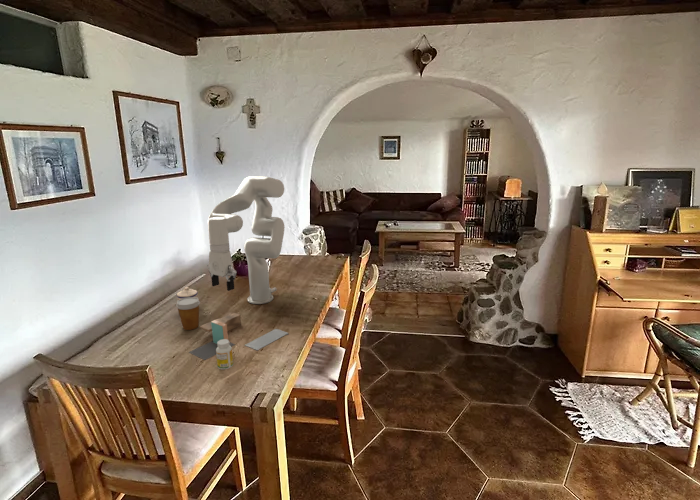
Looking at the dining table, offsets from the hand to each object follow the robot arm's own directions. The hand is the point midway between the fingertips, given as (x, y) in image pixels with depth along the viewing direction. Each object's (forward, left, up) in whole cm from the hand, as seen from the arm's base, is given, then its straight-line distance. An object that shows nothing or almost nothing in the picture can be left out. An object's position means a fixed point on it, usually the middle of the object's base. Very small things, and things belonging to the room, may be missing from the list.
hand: (223, 287), depth 171 cm
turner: (+4, +2, -18) cm, 18 cm away
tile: (+12, +11, -18) cm, 24 cm away
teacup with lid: (-2, -29, -18) cm, 34 cm away
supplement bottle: (+21, +25, -18) cm, 37 cm away
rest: (-1, +23, -18) cm, 29 cm away
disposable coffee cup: (+9, -13, -18) cm, 24 cm away
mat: (+16, +11, -18) cm, 26 cm away
